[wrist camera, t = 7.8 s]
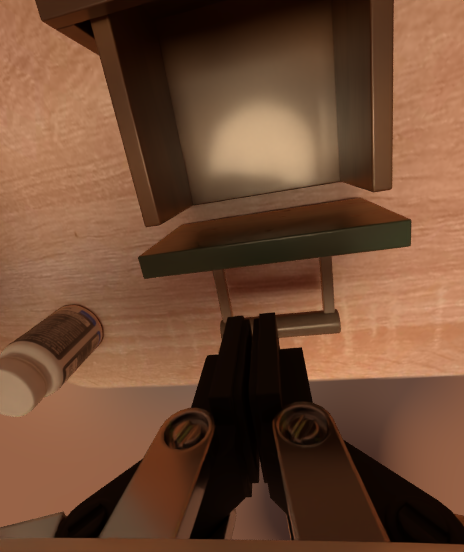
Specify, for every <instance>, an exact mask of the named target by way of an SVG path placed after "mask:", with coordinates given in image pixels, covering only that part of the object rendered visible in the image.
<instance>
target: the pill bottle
mask: <svg viewBox="0 0 464 552" xmlns="http://www.w3.org/2000/svg"><path fill="white" fill-rule="evenodd" d="M102 335H103V334H102V328H101V325H100V323H99V321H98V319H97V318H96V317H95V315H94V314H93V313H91V312H90V311H88V310H87V309H85V308H83V307H80V306H75V305H70V306H64V307H62V308H60V309H58V310H57V311H55V312H54V313H52V314H51V315H50V316H48V317H47V318H46V319H44V320H43V321H41V322H40V323H39V324H37V325H36V326H34V327H33V328H32V329H30V330H29V331H28V332H26V333H25V334H24V335H22V336H21V337H19V338H18V339H16V340H15V341H14V342H12V343H10V344H9V345H8V346H7V347H6V348H5V349H4V350H3V351H2V352H1V354H0V413H1V414H3V415H7V416H12V417H19V416H24V415H26V414H28V413H29V412H30V411H32V410H33V409H34V407H35V406H36V405H37V404H38V403H39V402H40V401H41V400H42V399H43V398H44V397H47V396H49V395H51V394H53V393H55V392H56V391H57V390H58V389H59V388H60V387H61V386H62V385H63V384H64V383H65V382H66V380H67V379H68V378H69V377H70V376H71V375H72V374H73V373H74V371H76V369H77V368H78V367H79V366H80V365H81V364H82V363H83V362H84V360H85V359H86V358H87V357H88V356H89V355H90V354H91V353H92V352H93V351H94V350H95V348H96V347H97V346H98V345H99V344H100V342H101V340H102Z"/></svg>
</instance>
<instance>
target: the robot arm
mask: <svg viewBox="0 0 464 552" xmlns="http://www.w3.org/2000/svg"><path fill="white" fill-rule="evenodd" d="M259 461H260V462H261V468H262V473H263V478H264V482H265V483H268V487H269V493H270V498H271V499H272V500H273V501H274V502H275V503H276V504H277V505H278V506H279V507H280V508H281V509H282V510H283V511H284V512H285V513H286V516H287V522H288V527H289V532H290V538H291V540H231V539H232V535H233V530H234V525H235V521H236V509H235V508H236V507H237V506H238V505H239V504H240V503H241V502H242V501H243V500H244V499H245V498H246V497H252V483H259ZM0 552H464V516H463V515H458V514H453V512H452V511H451V510H449V509H448V508H447V507H446V506H444V505H443V504H442V503H441V502H439V501H438V500H437V499H435V498H433V497H432V496H430V495H429V494H427V493H425V492H424V491H423V490H421V489H419V488H418V487H416V486H415V485H413V484H412V483H410V482H408V481H407V480H405V479H404V478H402V477H401V476H399V475H398V474H396V473H394V472H393V471H391V470H390V469H388V468H387V467H385V466H383V465H382V464H380V463H379V462H377V461H376V460H374V459H373V458H371V457H369V456H368V455H366V454H365V453H363V452H362V451H360V450H358V449H357V448H355V447H354V446H352V445H350V444H349V443H348V442H346V441H344V440H343V438H342V436H341V434H340V432H339V430H338V428H337V426H336V423H335V421H334V419H333V418H332V416H331V415H330V413H329V412H328V411H327V410H325V409H324V408H323V407H321V406H319V405H317V404H314V403H313V402H312V397H311V392H310V387H309V381H308V376H307V371H306V366H305V361H304V356H303V350H302V347H301V348H289V349H280V346H279V338H278V331H277V323H276V316H275V312H273V313H263V314H259V318H254V322H253V336H252V330H251V324H250V319H244V317H243V316H234V317H228V318H227V321H226V325H225V329H224V334H223V338H222V342H221V346H220V350H219V354H217V355H208V356H207V357H206V360H205V363H204V367H203V370H202V373H201V377H200V380H199V383H198V387H197V390H196V393H195V397H194V400H193V403H192V406H191V408H187V409H184V410H180V411H179V412H177V413H175V414H173V415H171V416H170V417H169V418H168V419H167V420H166V421H165V422H164V423H163V425H162V426H161V427H160V429H159V431H158V433H157V435H156V436H155V438H154V440H153V442H152V443H151V445H150V447H149V449H148V450H147V452H146V454H145V456H144V458H143V459H142V460H141V461H139V462H138V463H136V464H135V465H133V466H132V467H131V468H129V469H128V470H126V471H125V472H124V473H122V474H121V475H119V476H118V477H117V478H115V479H114V480H113V481H111V482H110V483H108V484H107V485H106V486H104V487H103V488H101V489H100V490H98V491H97V492H96V493H94V494H93V495H91V496H90V497H89V498H87V499H86V500H85V501H83V502H82V503H81V504H79V505H78V506H77V507H76V508H75V509H74V510H72V511H71V513H70V514H69V515H68V516H66V515H65V514H64V512H60V513H55V514H52V515H48V516H44V517H40V518H36V519H32V520H28V521H24V522H20V523H17V524H12V525H8V526H4V527H1V528H0Z"/></svg>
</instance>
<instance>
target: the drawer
mask: <svg viewBox="0 0 464 552" xmlns="http://www.w3.org/2000/svg"><path fill="white" fill-rule="evenodd" d="M393 17H394V0H155V1H152V2H148V3H145V4H141V5H138V6H135V7H131V8H128V9H124V10H121V11H117V12H114V13H110V14H107V15H103V16H100V17H96V18H93V19H90V22H91V26H92V30H93V33H94V37H95V41H96V45H97V48H98V52H99V56H100V59H101V63H102V67H103V71H104V74H105V78H106V82H107V86H108V89H109V93H110V97H111V100H112V104H113V108H114V112H115V115H116V119H117V123H118V127H119V130H120V134H121V138H122V142H123V145H124V149H125V153H126V156H127V160H128V164H129V168H130V171H131V175H132V179H133V183H134V186H135V190H136V194H137V197H138V201H139V205H140V209H141V212H142V216H143V220H144V224H145V226H146V227H151V226H157V225H161V224H162V223H164V222H166V221H168V220H169V219H171V218H173V217H174V216H176V215H178V214H179V213H181V212H183V211H184V210H186V209H188V208H189V207H191V206H193V205H199V204H206V203H212V202H218V201H224V200H230V199H236V198H243V197H249V196H255V195H261V194H267V193H273V192H280V191H286V190H292V189H298V188H304V187H310V186H317V185H323V184H329V183H335V182H344V183H347V184H350V185H353V186H356V187H359V188H362V189H365V190H368V191H371V192H379V191H385V190H390V189H392V146H393ZM410 245H411V219H408V218H406V217H404V216H402V215H399V214H397V213H395V212H392V211H390V210H388V209H385V208H383V207H381V206H379V205H376V204H374V203H372V202H369V201H367V200H365V199H363V198H355V199H348V200H342V201H335V202H328V203H322V204H315V205H309V206H302V207H295V208H289V209H282V210H276V211H269V212H263V213H256V214H249V215H243V216H236V217H230V218H223V219H216V220H210V221H203V222H197V223H190V224H183V225H181V226H179V227H178V228H177V229H175V230H174V231H173V232H171V233H170V234H169V235H167V236H166V237H164V238H163V239H162V240H160V241H159V242H158V243H156V244H155V245H154V246H152V247H151V248H150V249H148V250H147V251H145V252H144V253H143V254H141V255H140V256H139V257H138V259H139V263H140V266H141V270H142V273H143V277H144V279H148V278H156V277H164V276H172V275H180V274H189V273H197V272H205V271H213V274H214V279H215V284H216V289H217V294H218V299H219V304H220V309H221V314H222V319H223V320H221V324H220V332H221V338H223V334H224V329H225V325H226V321H227V318H228V317H233V312H232V306H231V301H230V296H229V290H228V285H227V280H226V274H225V269H229V268H238V267H246V266H254V265H262V264H270V263H278V262H286V261H295V260H303V259H311V258H319V265H320V278H321V291H322V304H323V310H321V311H311V312H300V313H289V314H279V315H275V316H276V323H277V331H278V338H284V337H297V336H309V335H321V334H334V333H340V331H341V324H340V317H339V313H338V311H337V309H335V305H334V289H333V273H332V257H331V256H335V255H344V254H352V253H360V252H368V251H376V250H384V249H393V248H401V247H409V246H410ZM254 318H259V316H257V317H246V318H244V319H250V324H251V330H252V336H253V322H254Z"/></svg>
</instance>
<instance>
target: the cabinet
mask: <svg viewBox="0 0 464 552" xmlns="http://www.w3.org/2000/svg"><path fill="white" fill-rule="evenodd" d="M35 1H36V5H37V8H38V11H39V14H40V17H41V20H42V21H43V22H44V23H46V24H48V25H49V26H51V27H53V28H54V29H56V30H57V31H59V32H61V33H62V34H64V35H66V36H67V37H69V38H71V39H72V40H74V41H76V42H77V43H79V44H81V45H82V46H84V47H86V48H87V49H89V50H91V51H92V52H94V53H96V54H97V55H99V52H98V48H97V45H96V41H95V37H94V33H93V30H92V26H91V22H90V19H93V18H96V17H100V16H103V15H107V14H110V13H114V12H117V11H121V10H124V9H128V8H131V7H135V6H138V5H141V4H145V3H148V2H152V1H155V0H35Z"/></svg>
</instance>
